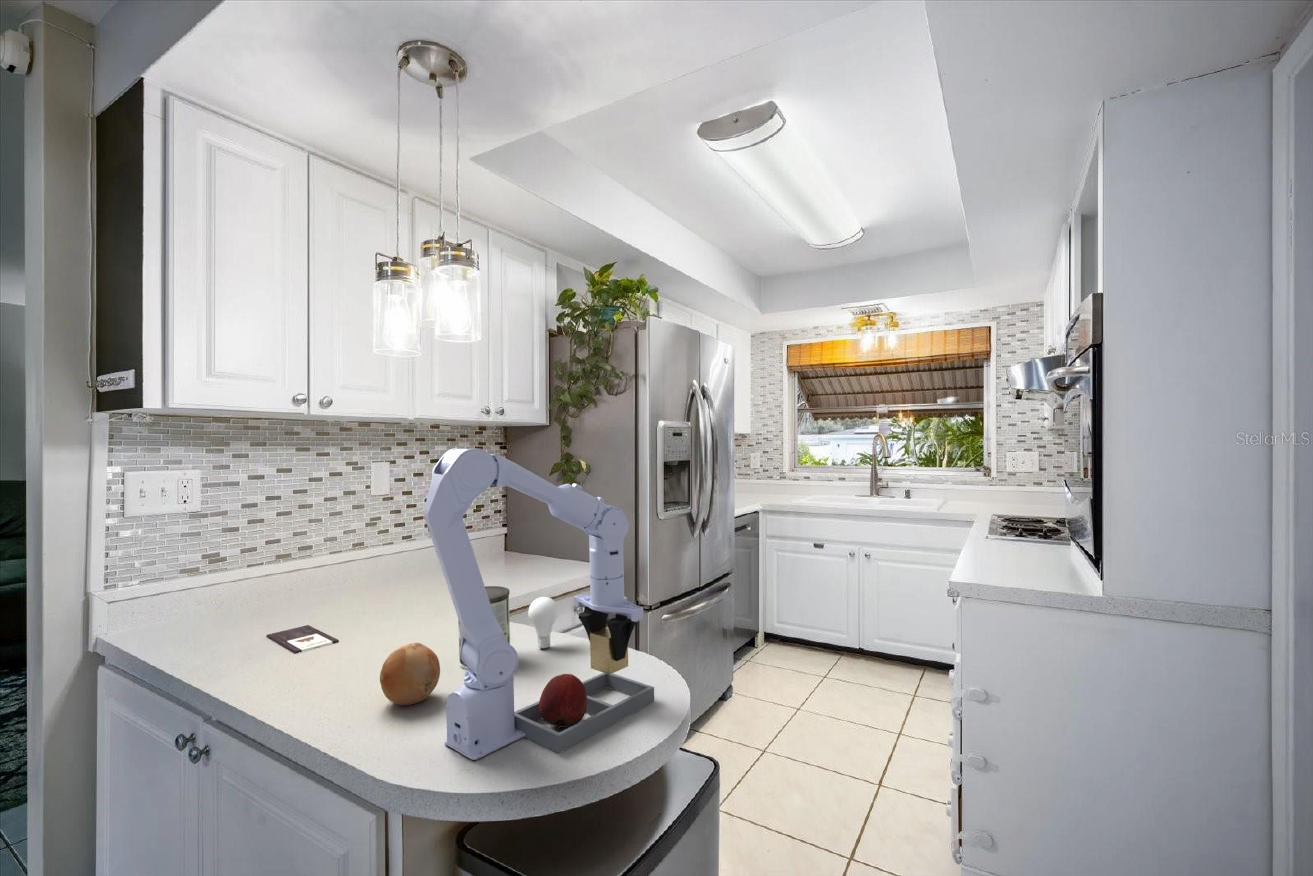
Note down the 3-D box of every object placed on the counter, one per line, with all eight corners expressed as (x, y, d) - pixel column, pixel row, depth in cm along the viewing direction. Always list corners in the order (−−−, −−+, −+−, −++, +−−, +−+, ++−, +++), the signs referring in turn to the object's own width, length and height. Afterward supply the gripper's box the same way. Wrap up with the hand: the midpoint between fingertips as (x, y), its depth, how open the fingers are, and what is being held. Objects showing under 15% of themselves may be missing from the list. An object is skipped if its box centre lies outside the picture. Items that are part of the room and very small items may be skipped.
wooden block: (609, 674, 100) (608, 638, 100) (590, 668, 103) (589, 633, 103) (628, 666, 104) (627, 631, 104) (609, 660, 106) (608, 626, 106)
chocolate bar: (308, 625, 149) (338, 640, 138) (308, 628, 149) (338, 644, 138) (266, 634, 143) (294, 651, 131) (266, 638, 143) (295, 656, 131)
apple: (598, 722, 97) (597, 672, 97) (564, 743, 90) (563, 689, 90) (563, 711, 101) (562, 662, 101) (529, 730, 94) (527, 679, 94)
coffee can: (448, 663, 123) (446, 593, 123) (491, 648, 131) (489, 583, 131) (478, 675, 117) (476, 602, 117) (521, 659, 125) (519, 590, 125)
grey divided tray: (559, 753, 87) (558, 736, 87) (510, 730, 95) (510, 713, 95) (654, 701, 103) (654, 687, 103) (606, 685, 111) (606, 671, 111)
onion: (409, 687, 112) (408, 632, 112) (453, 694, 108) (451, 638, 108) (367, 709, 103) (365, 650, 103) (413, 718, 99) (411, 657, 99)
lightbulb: (555, 641, 135) (554, 592, 135) (562, 651, 129) (560, 599, 129) (526, 645, 132) (525, 595, 132) (531, 655, 126) (530, 602, 126)
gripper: (654, 576, 101) (656, 658, 102) (594, 566, 111) (596, 640, 111) (625, 585, 96) (627, 671, 96) (564, 573, 105) (566, 651, 106)
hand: (608, 655), depth 103 cm, fingers closed on wooden block, 4 cm apart
